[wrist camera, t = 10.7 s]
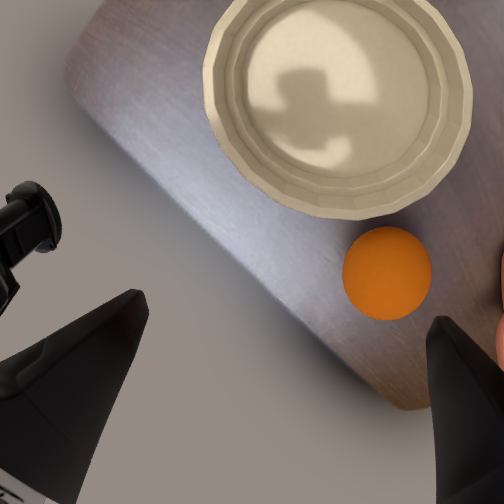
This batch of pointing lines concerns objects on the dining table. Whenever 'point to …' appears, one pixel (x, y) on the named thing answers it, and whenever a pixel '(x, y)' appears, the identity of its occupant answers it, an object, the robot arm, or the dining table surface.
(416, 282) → the orange
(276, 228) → the dining table surface
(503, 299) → the teapot
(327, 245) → the dining table surface
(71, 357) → the robot arm
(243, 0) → the bowl
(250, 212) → the dining table surface
